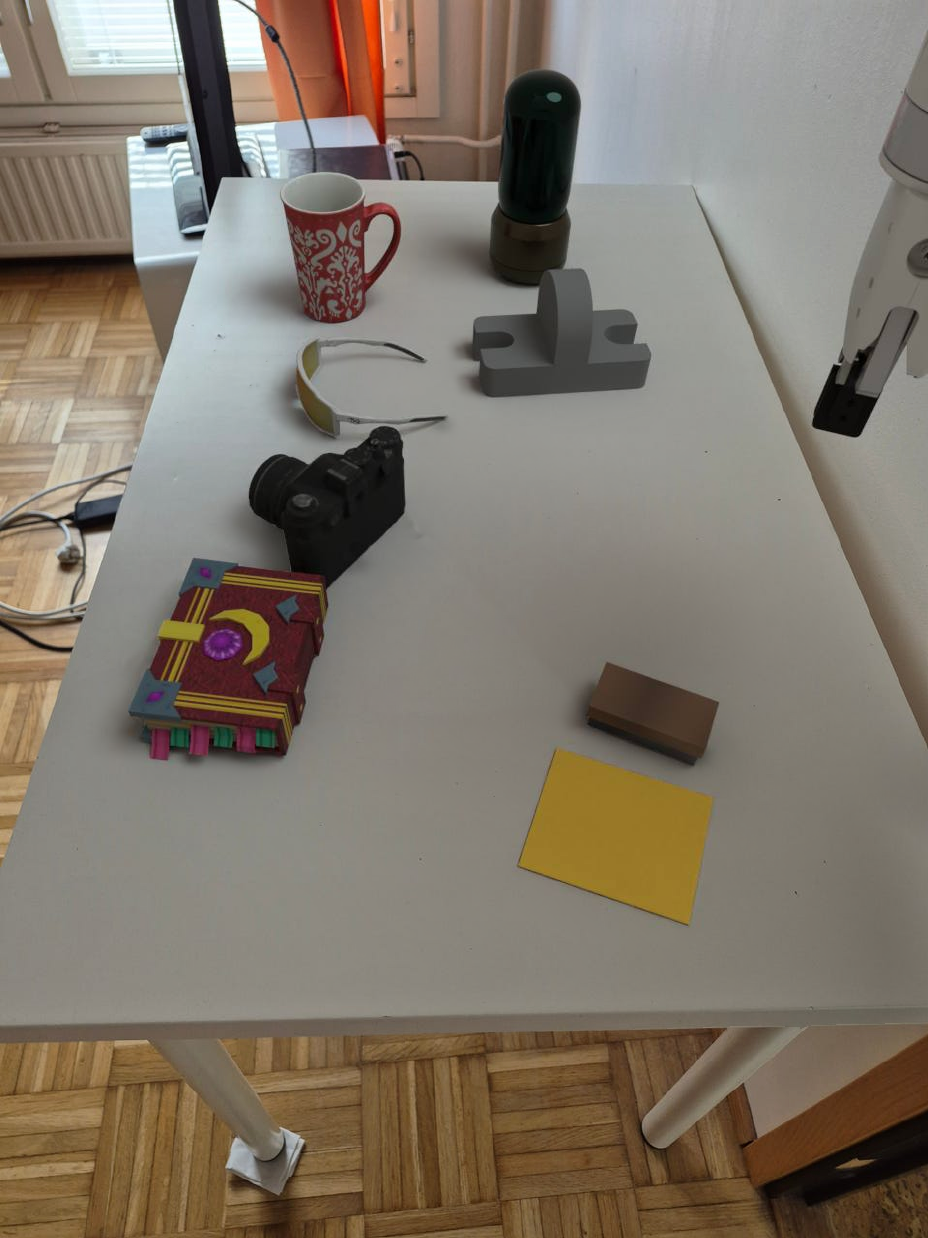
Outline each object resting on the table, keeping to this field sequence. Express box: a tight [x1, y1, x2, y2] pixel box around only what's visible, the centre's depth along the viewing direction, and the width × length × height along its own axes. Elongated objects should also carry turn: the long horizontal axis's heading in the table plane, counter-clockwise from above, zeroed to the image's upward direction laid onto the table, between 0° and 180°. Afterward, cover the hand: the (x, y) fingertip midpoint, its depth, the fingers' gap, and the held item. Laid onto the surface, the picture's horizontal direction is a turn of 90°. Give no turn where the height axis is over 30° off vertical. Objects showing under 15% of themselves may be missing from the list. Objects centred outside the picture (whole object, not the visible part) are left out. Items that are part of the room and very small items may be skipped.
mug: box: [279, 171, 402, 324], centre depth 99 cm, size 13×9×14 cm
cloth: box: [517, 747, 714, 926], centre depth 63 cm, size 12×10×1 cm
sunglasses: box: [295, 336, 450, 437], centre depth 92 cm, size 14×15×5 cm
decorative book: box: [127, 557, 329, 761], centre depth 69 cm, size 11×16×5 cm
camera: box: [248, 425, 407, 590], centre depth 77 cm, size 14×11×10 cm
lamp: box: [488, 68, 582, 285], centre depth 102 cm, size 10×10×22 cm
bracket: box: [471, 267, 652, 399], centre depth 94 cm, size 10×18×11 cm, turn 98°
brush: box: [585, 661, 720, 766], centre depth 68 cm, size 9×4×3 cm, turn 67°
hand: (835, 425), depth 60 cm, fingers closed
